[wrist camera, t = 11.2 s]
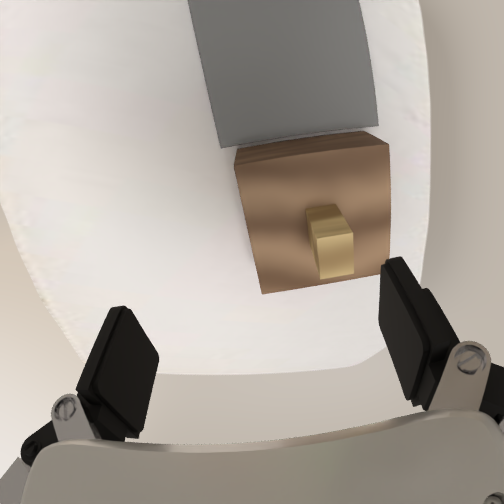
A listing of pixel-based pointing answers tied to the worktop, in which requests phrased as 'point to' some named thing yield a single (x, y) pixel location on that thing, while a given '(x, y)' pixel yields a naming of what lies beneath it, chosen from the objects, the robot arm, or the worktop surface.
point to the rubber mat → (284, 67)
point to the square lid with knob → (316, 208)
